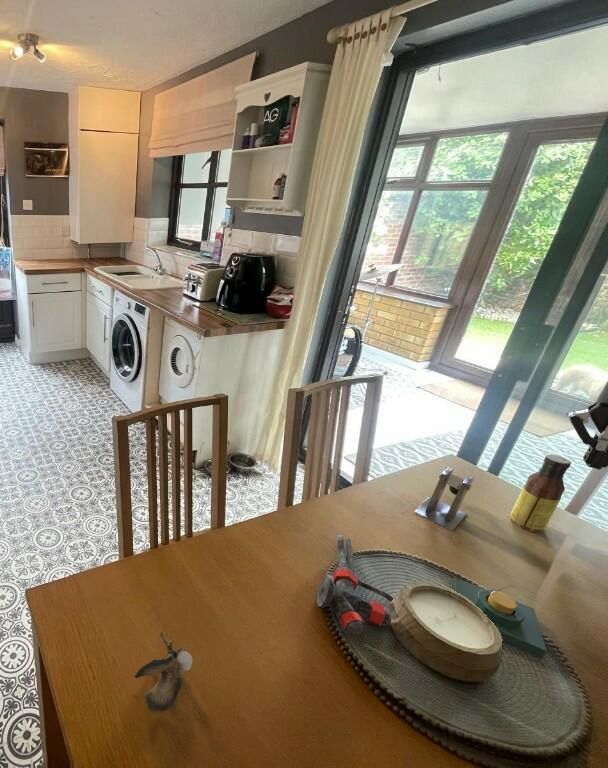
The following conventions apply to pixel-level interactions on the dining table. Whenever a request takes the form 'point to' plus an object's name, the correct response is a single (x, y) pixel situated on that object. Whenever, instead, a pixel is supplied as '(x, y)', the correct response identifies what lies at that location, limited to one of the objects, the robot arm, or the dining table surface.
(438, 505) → the grey metal stand
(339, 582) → the valve
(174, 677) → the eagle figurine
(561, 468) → the sauce bottle
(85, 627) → the dining table surface
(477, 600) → the green button base
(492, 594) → the button
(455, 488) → the lever handle
